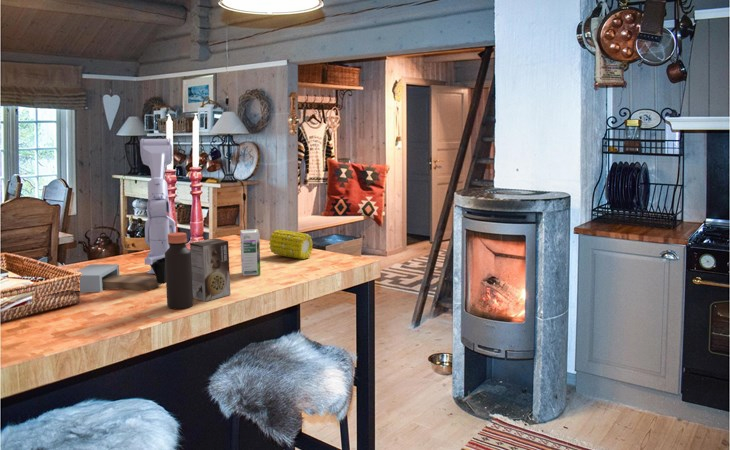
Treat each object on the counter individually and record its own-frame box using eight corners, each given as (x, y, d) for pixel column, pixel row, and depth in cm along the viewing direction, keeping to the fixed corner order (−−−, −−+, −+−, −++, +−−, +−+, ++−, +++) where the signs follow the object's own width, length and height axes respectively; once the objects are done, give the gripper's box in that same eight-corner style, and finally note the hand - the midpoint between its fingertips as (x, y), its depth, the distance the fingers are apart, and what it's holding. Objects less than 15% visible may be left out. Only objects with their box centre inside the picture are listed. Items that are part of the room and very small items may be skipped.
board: (162, 285, 201) (161, 277, 201) (149, 291, 193) (149, 283, 193) (114, 282, 204) (113, 275, 203) (99, 289, 196) (99, 281, 195)
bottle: (162, 306, 177) (158, 234, 173) (183, 301, 182) (179, 230, 179) (177, 311, 172) (174, 237, 169) (198, 305, 178) (195, 233, 175)
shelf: (119, 279, 206) (118, 264, 205) (100, 292, 191) (99, 275, 190) (91, 279, 206) (90, 264, 205) (70, 291, 191) (68, 275, 191)
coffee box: (217, 291, 192) (215, 237, 190) (231, 295, 188) (229, 240, 186) (191, 297, 185) (189, 242, 183) (205, 301, 181) (203, 245, 179)
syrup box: (242, 276, 211) (241, 232, 209) (241, 272, 217) (240, 229, 214) (260, 275, 212) (259, 231, 210) (258, 271, 218) (257, 228, 216)
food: (317, 257, 240) (317, 230, 238) (295, 263, 231) (294, 235, 229) (288, 252, 249) (287, 226, 248) (265, 257, 240) (264, 230, 238)
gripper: (160, 234, 204) (162, 276, 206) (134, 242, 190) (136, 288, 192) (181, 235, 202) (183, 277, 204) (156, 243, 188) (158, 289, 190)
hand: (162, 283), depth 198 cm, fingers closed
